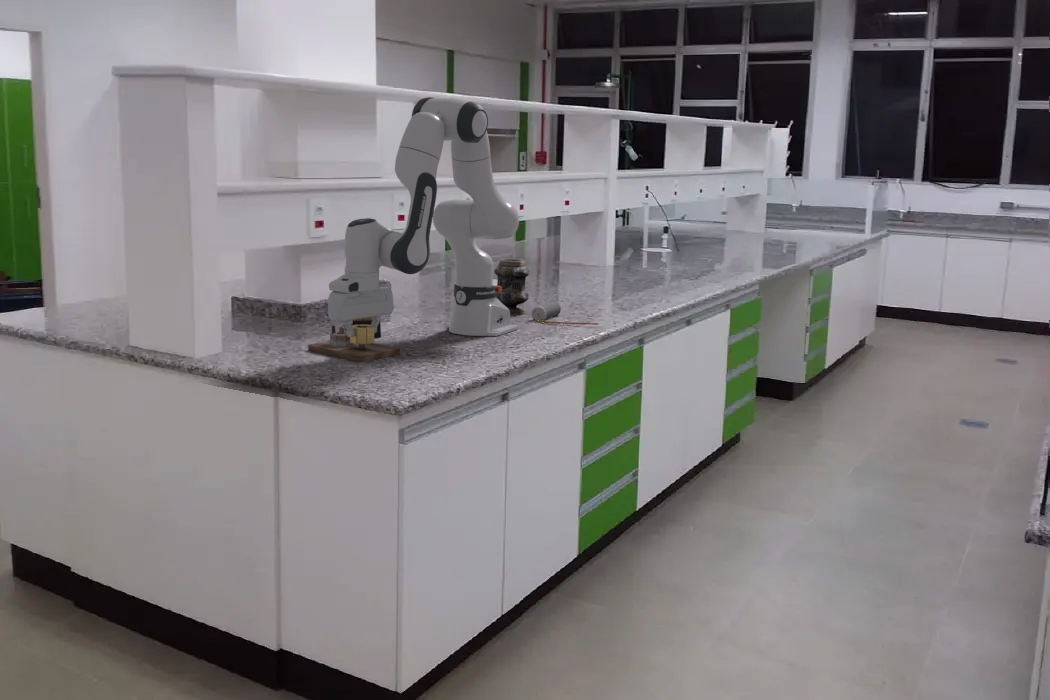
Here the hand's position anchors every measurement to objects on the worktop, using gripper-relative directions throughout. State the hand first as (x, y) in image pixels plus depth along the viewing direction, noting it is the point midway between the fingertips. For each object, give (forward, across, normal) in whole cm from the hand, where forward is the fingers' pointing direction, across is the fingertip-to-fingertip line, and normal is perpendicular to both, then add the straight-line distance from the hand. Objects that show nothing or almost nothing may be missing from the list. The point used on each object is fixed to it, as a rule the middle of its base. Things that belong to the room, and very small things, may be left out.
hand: (362, 334), depth 245 cm
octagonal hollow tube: (+2, 0, 0) cm, 2 cm away
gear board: (+5, 0, -3) cm, 6 cm away
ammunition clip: (+5, -15, -16) cm, 23 cm away
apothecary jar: (+5, -81, -14) cm, 82 cm away
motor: (+6, -85, +9) cm, 85 cm away
